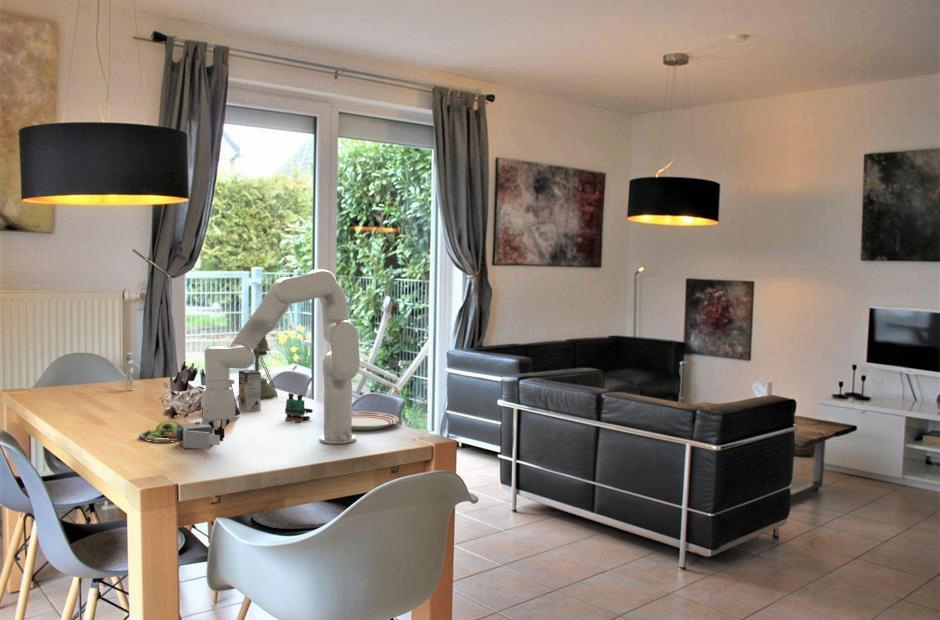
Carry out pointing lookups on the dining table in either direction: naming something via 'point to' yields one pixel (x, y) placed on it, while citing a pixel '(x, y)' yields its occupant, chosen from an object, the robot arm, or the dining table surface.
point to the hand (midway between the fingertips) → (219, 440)
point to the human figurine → (129, 368)
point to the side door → (200, 439)
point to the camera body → (192, 427)
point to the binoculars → (296, 409)
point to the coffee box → (249, 390)
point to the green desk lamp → (266, 388)
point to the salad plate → (162, 432)
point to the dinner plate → (372, 420)
